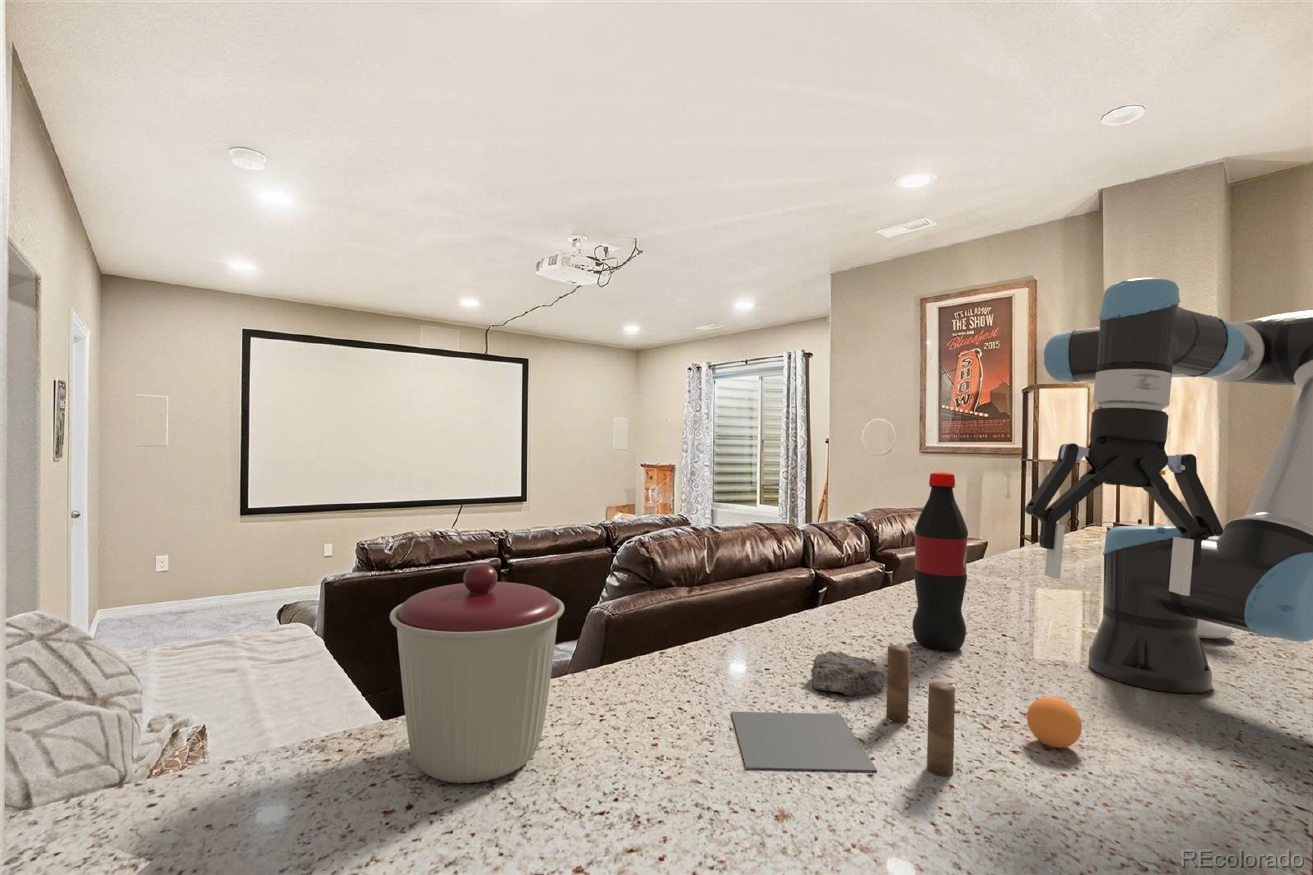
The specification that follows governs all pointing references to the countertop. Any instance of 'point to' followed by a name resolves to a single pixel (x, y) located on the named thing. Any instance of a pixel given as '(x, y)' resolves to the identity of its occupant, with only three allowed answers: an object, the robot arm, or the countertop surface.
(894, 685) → the post
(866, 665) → the rock
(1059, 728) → the ball
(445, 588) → the canister
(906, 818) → the countertop surface
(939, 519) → the cola bottle
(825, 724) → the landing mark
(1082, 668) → the countertop surface
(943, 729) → the post
